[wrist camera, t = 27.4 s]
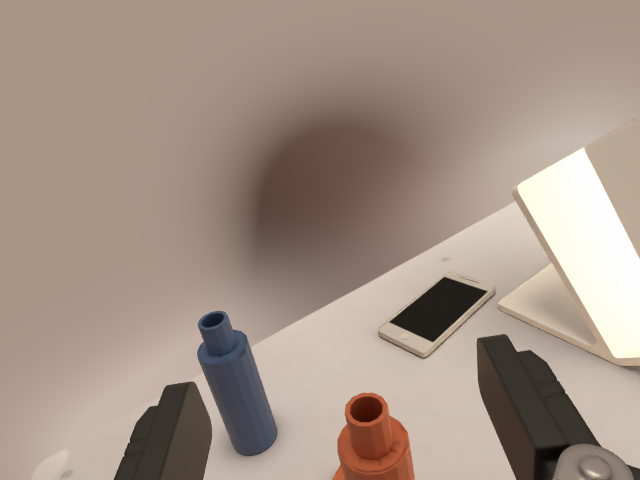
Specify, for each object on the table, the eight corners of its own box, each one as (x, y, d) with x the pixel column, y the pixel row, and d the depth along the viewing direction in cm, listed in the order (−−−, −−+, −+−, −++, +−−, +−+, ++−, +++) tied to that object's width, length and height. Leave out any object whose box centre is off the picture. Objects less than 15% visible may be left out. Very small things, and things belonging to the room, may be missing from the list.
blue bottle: (260, 461, 46) (215, 341, 39) (224, 447, 48) (176, 331, 41) (285, 425, 49) (248, 308, 42) (250, 413, 51) (210, 301, 45)
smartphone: (377, 335, 58) (376, 329, 58) (449, 276, 67) (449, 270, 66) (424, 359, 53) (424, 352, 53) (496, 291, 62) (496, 285, 61)
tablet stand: (495, 308, 59) (493, 181, 51) (604, 229, 70) (615, 115, 62) (658, 384, 45) (689, 225, 37) (762, 270, 56) (802, 129, 48)
